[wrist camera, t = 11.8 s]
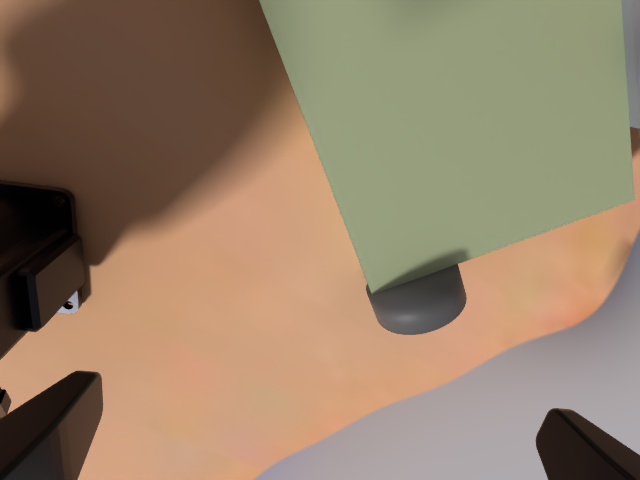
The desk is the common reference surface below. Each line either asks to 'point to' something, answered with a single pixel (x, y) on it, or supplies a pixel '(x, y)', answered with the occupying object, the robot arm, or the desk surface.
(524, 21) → the green slab with frame
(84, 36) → the desk surface
